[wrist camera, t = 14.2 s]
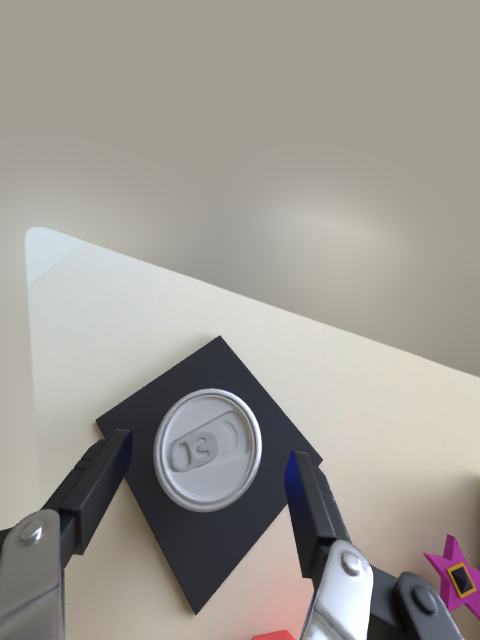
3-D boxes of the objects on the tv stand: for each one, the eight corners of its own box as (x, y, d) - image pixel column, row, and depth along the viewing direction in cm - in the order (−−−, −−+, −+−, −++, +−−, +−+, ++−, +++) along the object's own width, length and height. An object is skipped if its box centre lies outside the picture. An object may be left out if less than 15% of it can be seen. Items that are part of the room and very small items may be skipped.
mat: (196, 611, 18) (195, 616, 17) (97, 420, 23) (95, 419, 23) (321, 459, 24) (323, 459, 23) (219, 336, 29) (219, 335, 29)
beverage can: (226, 408, 25) (243, 371, 12) (241, 459, 22) (284, 485, 9) (179, 425, 23) (140, 404, 10) (191, 481, 21) (159, 546, 8)
